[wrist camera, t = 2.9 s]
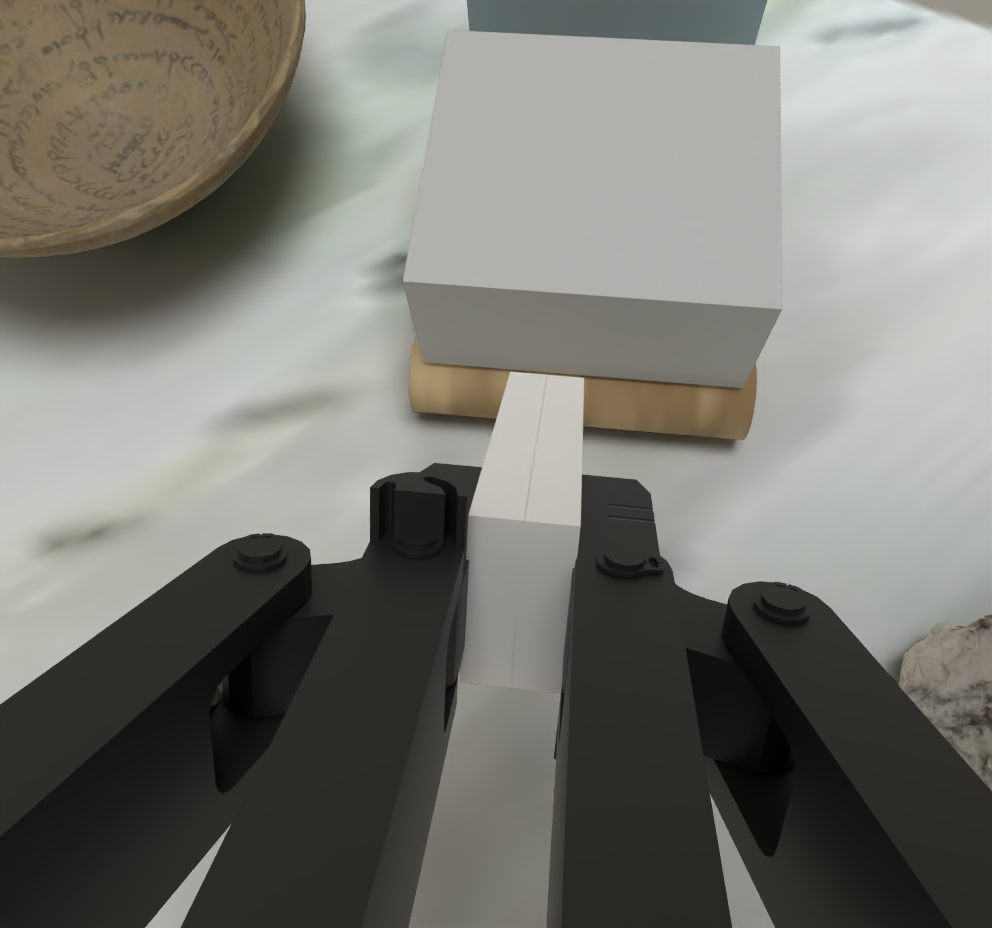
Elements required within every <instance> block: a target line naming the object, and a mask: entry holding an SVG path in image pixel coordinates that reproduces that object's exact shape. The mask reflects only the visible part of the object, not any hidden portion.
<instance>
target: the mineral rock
mask: <svg viewBox="0 0 992 928" xmlns="http://www.w3.org/2000/svg"><path fill="white" fill-rule="evenodd" d="M903 657H904V658H903V662H902V667H901V672H900V679H899V686H900V687H901V689H902V690H903V691H904V692H905V693H906V694H907V695H908V697H909V698H910V699H911V700H912V701H913V702H914V703H915V705H916V706H917V707H918V708H919V709H920V710H921V711H922V712H923V714H924V715H925V716H926V717H927V718H928V719H929V720H930V722H931V723H932V724H933V725H934V726H935V727H936V728H937V729H938V731H939V732H940V733H941V734H942V735H943V736H944V737H945V739H946V740H947V741H948V742H949V743H950V744H951V745H952V747H953V748H954V749H955V750H956V751H957V752H958V753H959V754H960V756H961V757H962V758H963V759H964V760H965V761H966V762H967V764H968V765H969V766H970V767H971V768H972V769H973V770H974V771H975V773H976V774H977V775H978V776H979V777H980V778H981V779H982V781H983V782H984V783H985V784H986V785H987V786H988V787H989V788H990V790H991V791H992V615H988V616H985V619H983V618H981V619H979V620H978V621H976V622H974V623H972V624H970V625H968V626H966V627H962V626H957V627H956V626H953V625H951V624H949V623H939V624H937V625H936V626H935V627H934V628H933V629H932V630H931V632H930V633H929V634H928V636H927V637H926V638H925V639H923V640H921V641H919V642H917V643H916V644H914V645H913V646H912V647H911V648H910V649H909V650H907V651H906V652H905V653H904V655H903Z"/></svg>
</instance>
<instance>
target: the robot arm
mask: <svg viewBox="0 0 992 928" xmlns="http://www.w3.org/2000/svg"><path fill="white" fill-rule="evenodd" d="M583 404H584V378H579V377H568V376H556V375H545V374H533V373H521V372H510V375H509V378H508V381H507V385H506V388H505V392H504V395H503V398H502V402H501V405H500V409H499V412H498V416H497V419H496V422H495V426H494V429H493V433H492V436H491V439H490V443H489V446H488V450H487V453H486V457H485V460H484V463H483V467H472V466H461V465H451V464H440V463H434V464H432V465H430V466H429V467H427V468H426V469H424V470H422V471H421V472H407V473H400V474H394V475H390V476H387V477H385V478H382V479H380V480H378V481H377V482H375V483H374V484H373V485H372V486H371V487H370V542H369V544H368V547H367V549H366V551H365V553H364V555H363V557H362V558H360V559H356V560H353V561H348V562H341V563H332V564H318V565H311V555H310V549H309V548H308V547H307V546H306V545H304V544H303V543H302V542H301V541H298V540H296V539H293V538H291V537H288V536H280V535H274V534H266V533H263V534H262V535H260V534H252V535H249V536H246V537H243V538H239V539H235V540H232V541H230V542H228V543H226V544H224V545H222V546H220V547H218V548H217V549H215V550H214V551H213V552H211V553H210V554H208V555H207V556H206V557H204V558H203V559H201V560H200V561H199V562H197V563H196V564H194V565H193V566H192V567H190V568H189V569H188V570H186V571H185V572H183V573H182V574H181V575H179V576H178V577H176V578H175V579H174V580H172V581H171V582H170V583H168V584H167V585H165V586H164V587H163V588H161V589H160V590H158V591H157V592H156V593H154V594H153V595H152V596H150V597H149V598H147V599H146V600H145V601H143V602H142V603H140V604H139V605H138V606H136V607H135V608H133V609H132V610H131V611H129V612H128V613H127V614H125V615H124V616H122V617H121V618H120V619H118V620H117V621H115V622H114V623H113V624H111V625H110V626H109V627H107V628H106V629H104V630H103V631H102V632H100V633H99V634H97V635H96V636H95V637H93V638H92V639H91V640H89V641H88V642H86V643H85V644H84V645H82V646H81V647H79V648H78V649H77V650H75V651H74V652H72V653H71V654H70V655H68V656H67V657H66V658H64V659H63V660H61V661H60V662H59V663H57V664H56V665H54V666H53V667H52V668H50V669H49V670H48V671H46V672H45V673H43V674H42V675H41V676H39V677H38V678H36V679H35V680H34V681H32V682H31V683H30V684H28V685H27V686H25V687H24V688H23V689H21V690H20V691H18V692H17V693H16V694H14V695H13V696H11V697H10V698H9V699H7V700H6V701H5V702H3V703H2V704H0V928H145V927H146V926H147V925H148V923H149V922H150V921H151V920H152V919H153V917H154V916H155V915H156V914H157V913H158V911H159V910H160V909H161V908H162V907H163V905H164V904H165V903H166V902H167V901H168V899H169V898H170V897H171V896H172V894H173V893H174V892H175V891H176V890H177V888H178V887H179V886H180V885H181V884H182V882H183V881H184V880H185V879H186V878H187V876H188V875H189V874H190V873H191V872H192V870H193V869H194V868H195V867H196V866H197V864H198V863H199V862H200V861H201V860H202V858H203V857H204V856H205V855H206V854H207V852H208V851H209V850H210V849H211V848H212V846H213V845H214V844H215V843H216V842H217V840H218V839H219V838H220V837H221V835H222V834H223V833H224V832H225V831H226V829H227V828H228V827H229V826H230V825H231V826H230V828H229V830H228V832H227V834H226V836H225V838H224V840H223V842H222V844H221V846H220V848H219V850H218V853H217V855H216V857H215V859H214V861H213V863H212V865H211V867H210V869H209V871H208V873H207V875H206V877H205V879H204V881H203V883H202V885H201V887H200V889H199V891H198V893H197V895H196V897H195V899H194V901H193V904H192V906H191V908H190V910H189V912H188V914H187V916H186V918H185V920H184V922H183V924H182V926H181V928H408V926H409V921H410V917H411V912H412V908H413V903H414V898H415V894H416V889H417V884H418V880H419V875H420V871H421V866H422V861H423V857H424V852H425V848H426V843H427V838H428V834H429V829H430V824H431V820H432V815H433V811H434V806H435V801H436V797H437V792H438V788H439V783H440V778H441V774H442V769H443V764H444V760H445V755H446V751H447V746H448V741H449V737H450V732H451V728H452V723H453V718H454V714H455V709H456V704H457V684H458V673H459V669H460V682H463V683H472V684H481V685H490V686H499V687H508V688H517V689H526V690H535V691H544V692H553V693H561V698H560V707H559V716H558V725H557V735H556V744H555V753H554V759H556V770H555V788H554V806H553V823H552V841H551V859H550V876H549V894H548V912H547V928H732V924H731V918H730V912H729V906H728V900H727V894H726V888H725V882H724V876H723V870H722V864H721V858H720V852H719V846H718V840H717V834H716V828H715V822H714V816H713V810H712V804H711V798H710V794H711V796H712V798H713V800H714V802H715V804H716V806H717V808H718V810H719V812H720V814H721V816H722V818H723V821H724V823H725V825H726V827H727V829H728V831H729V833H730V835H731V837H732V839H733V841H734V843H735V845H736V847H737V850H738V852H739V854H740V856H741V858H742V860H743V862H744V864H745V866H746V868H747V870H748V872H749V874H750V876H751V879H752V881H753V883H754V885H755V887H756V889H757V891H758V893H759V895H760V897H761V899H762V901H763V903H764V905H765V908H766V910H767V912H768V914H769V916H770V918H771V920H772V922H773V924H774V926H775V928H992V791H991V790H990V788H989V787H988V786H987V785H986V784H985V783H984V782H983V781H982V779H981V778H980V777H979V776H978V775H977V774H976V773H975V771H974V770H973V769H972V768H971V767H970V766H969V765H968V764H967V762H966V761H965V760H964V759H963V758H962V757H961V756H960V754H959V753H958V752H957V751H956V750H955V749H954V748H953V747H952V745H951V744H950V743H949V742H948V741H947V740H946V739H945V737H944V736H943V735H942V734H941V733H940V732H939V731H938V729H937V728H936V727H935V726H934V725H933V724H932V723H931V722H930V720H929V719H928V718H927V717H926V716H925V715H924V714H923V712H922V711H921V710H920V709H919V708H918V707H917V706H916V705H915V703H914V702H913V701H912V700H911V699H910V698H909V697H908V695H907V694H906V693H905V692H904V691H903V690H902V689H901V687H900V686H899V685H898V684H897V683H896V682H895V681H894V680H893V678H892V677H891V676H890V675H889V674H888V673H887V672H886V670H885V669H884V668H883V667H882V666H881V665H880V664H879V663H878V661H877V660H876V659H875V658H874V657H873V656H872V655H871V653H870V652H869V651H868V650H867V649H866V648H865V647H864V646H863V644H862V643H861V642H860V641H859V640H858V639H857V638H856V636H855V635H854V634H853V633H852V632H851V631H850V630H849V628H848V627H847V626H846V625H845V624H844V623H843V622H842V621H841V619H840V618H839V617H838V616H837V615H836V614H835V613H834V611H833V610H832V609H831V608H830V607H829V606H828V605H826V604H825V603H824V602H823V601H821V600H820V599H819V598H818V597H816V596H814V595H812V594H810V593H808V592H806V591H804V590H802V589H800V588H799V587H796V586H793V585H790V584H789V585H786V584H785V583H780V582H761V581H760V582H753V583H746V584H742V585H741V586H739V587H737V588H735V589H733V590H732V592H731V594H730V597H729V599H728V604H723V603H720V602H716V601H712V600H709V599H706V598H703V597H700V596H697V595H694V594H692V593H690V592H688V591H686V590H684V589H682V588H680V587H679V586H677V585H676V584H675V582H674V576H673V571H672V569H671V567H670V565H669V563H668V562H667V561H666V560H665V559H663V558H662V557H661V556H660V553H659V547H658V540H657V533H656V527H655V523H654V513H653V507H652V500H651V494H650V493H649V492H648V491H647V490H646V489H645V488H644V487H643V486H642V485H641V484H640V483H639V482H638V481H637V480H633V479H623V478H612V477H602V476H591V475H582V446H583ZM460 664H461V668H460ZM218 686H219V687H218ZM231 823H232V824H231Z"/></svg>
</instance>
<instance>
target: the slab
mask: <svg viewBox="0 0 992 928" xmlns="http://www.w3.org/2000/svg"><path fill="white" fill-rule="evenodd" d="M403 284H404V288H405V292H406V296H407V300H408V304H409V308H410V312H411V316H412V320H413V324H414V328H415V332H416V336H417V340H418V344H419V348H420V351H421V355H422V359H423V362H426V363H439V364H451V365H463V366H476V367H488V368H500V369H513V370H525V371H537V372H550V373H562V374H574V375H587V376H599V377H611V378H624V379H636V380H648V381H661V382H673V383H685V384H698V385H710V386H722V387H735V388H743V387H744V385H745V383H746V381H747V379H748V377H749V375H750V373H751V371H752V369H753V367H754V365H755V363H756V361H757V359H758V357H759V355H760V353H761V351H762V349H763V347H764V345H765V343H766V341H767V339H768V337H769V335H770V333H771V331H772V329H773V327H774V325H775V323H776V320H777V318H778V316H779V314H780V312H781V310H782V236H781V111H780V46H761V45H741V44H721V43H700V42H680V41H660V40H639V39H619V38H599V37H578V36H558V35H538V34H517V33H497V32H477V31H456V30H448V32H447V38H446V43H445V49H444V54H443V60H442V66H441V71H440V77H439V82H438V88H437V93H436V99H435V105H434V110H433V116H432V121H431V127H430V132H429V138H428V143H427V149H426V155H425V160H424V166H423V171H422V177H421V182H420V188H419V193H418V199H417V205H416V210H415V216H414V221H413V227H412V232H411V238H410V244H409V249H408V255H407V260H406V266H405V271H404V277H403Z"/></svg>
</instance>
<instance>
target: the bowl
mask: <svg viewBox="0 0 992 928" xmlns="http://www.w3.org/2000/svg"><path fill="white" fill-rule="evenodd" d="M305 19H306V12H305V0H0V257H19V258H20V257H43V256H54V255H65V254H72V253H78V252H83V251H88V250H93V249H98V248H102V247H105V246H108V245H111V244H115V243H118V242H121V241H125V240H128V239H131V238H134V237H136V236H138V235H140V234H143V233H145V232H147V231H149V230H151V229H154V228H156V227H158V226H160V225H162V224H164V223H166V222H168V221H169V220H171V219H173V218H175V217H177V216H178V215H180V214H181V213H183V212H185V211H186V210H188V209H190V208H192V207H193V206H194V205H196V204H197V203H199V202H200V201H201V200H203V199H204V198H205V197H207V196H208V195H209V194H211V193H212V192H213V191H215V190H216V189H217V188H218V187H220V186H221V185H222V184H223V183H224V182H225V181H226V180H227V179H228V178H229V177H230V176H231V175H232V174H233V173H234V172H235V171H236V170H237V169H238V168H239V167H240V166H241V165H242V164H243V163H244V162H245V161H246V160H247V159H248V157H249V156H250V155H251V154H252V153H253V151H254V150H255V149H256V148H257V147H258V145H259V144H260V142H261V141H262V140H263V138H264V137H265V135H266V134H267V132H268V131H269V129H270V127H271V126H272V124H273V122H274V121H275V119H276V117H277V116H278V114H279V112H280V109H281V107H282V105H283V103H284V101H285V99H286V96H287V94H288V91H289V89H290V87H291V84H292V81H293V78H294V74H295V71H296V68H297V65H298V62H299V57H300V53H301V49H302V43H303V37H304V32H305Z"/></svg>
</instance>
